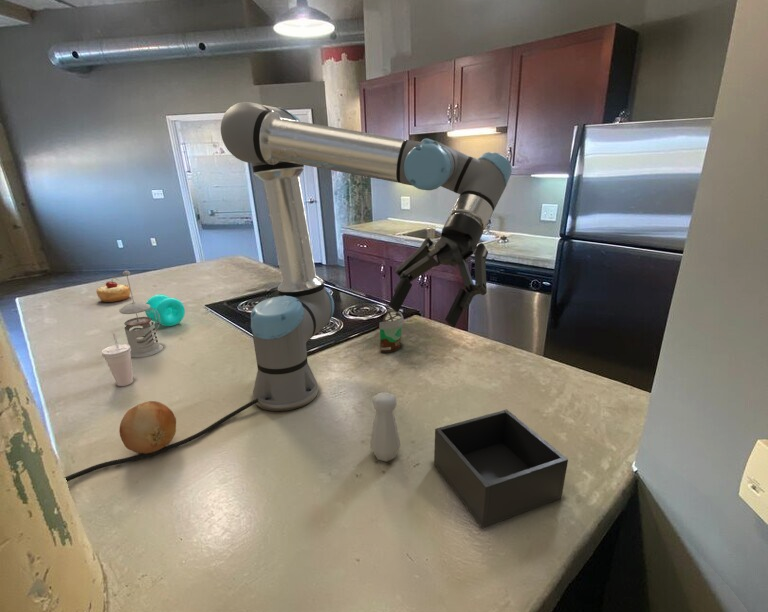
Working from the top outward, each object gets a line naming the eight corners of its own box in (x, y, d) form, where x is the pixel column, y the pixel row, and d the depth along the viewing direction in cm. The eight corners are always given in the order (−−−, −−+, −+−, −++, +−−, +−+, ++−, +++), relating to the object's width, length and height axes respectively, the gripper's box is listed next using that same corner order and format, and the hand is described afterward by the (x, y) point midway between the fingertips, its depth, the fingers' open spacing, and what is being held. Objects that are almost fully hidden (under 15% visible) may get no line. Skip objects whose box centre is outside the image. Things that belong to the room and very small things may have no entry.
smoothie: (144, 379, 110) (132, 330, 105) (121, 390, 105) (107, 339, 100) (128, 374, 113) (115, 326, 108) (105, 385, 107) (90, 335, 102)
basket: (482, 528, 64) (485, 487, 61) (433, 464, 77) (434, 428, 74) (561, 498, 69) (568, 459, 66) (503, 443, 83) (506, 409, 80)
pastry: (92, 303, 172) (86, 282, 168) (113, 294, 182) (108, 274, 179) (117, 304, 170) (112, 283, 166) (138, 295, 181) (133, 275, 177)
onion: (144, 471, 77) (131, 426, 73) (116, 453, 82) (102, 410, 78) (191, 442, 85) (181, 400, 81) (162, 427, 90) (152, 387, 86)
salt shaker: (369, 445, 83) (367, 388, 78) (398, 443, 83) (398, 386, 79) (371, 465, 77) (369, 405, 73) (402, 463, 78) (401, 403, 73)
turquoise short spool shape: (173, 316, 155) (168, 290, 151) (188, 321, 149) (183, 295, 146) (146, 324, 147) (140, 298, 144) (161, 330, 142) (155, 303, 138)
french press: (119, 354, 125) (97, 273, 116) (152, 339, 135) (134, 264, 126) (142, 359, 121) (121, 276, 112) (175, 344, 131) (158, 266, 122)
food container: (400, 356, 120) (400, 324, 117) (379, 354, 121) (379, 322, 118) (406, 339, 132) (407, 309, 128) (387, 337, 133) (387, 308, 129)
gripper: (531, 240, 77) (485, 340, 72) (425, 230, 94) (382, 311, 89) (519, 214, 72) (469, 321, 67) (409, 209, 88) (363, 294, 84)
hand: (419, 316), depth 78 cm, fingers open, 13 cm apart
